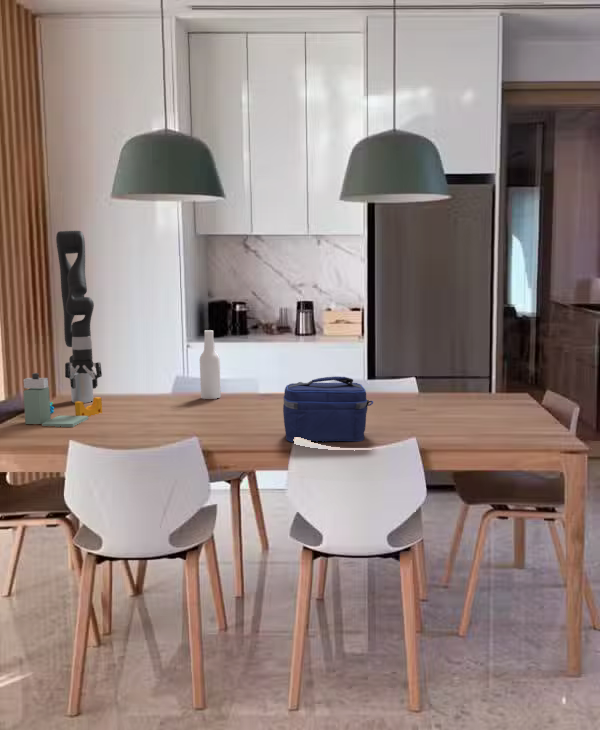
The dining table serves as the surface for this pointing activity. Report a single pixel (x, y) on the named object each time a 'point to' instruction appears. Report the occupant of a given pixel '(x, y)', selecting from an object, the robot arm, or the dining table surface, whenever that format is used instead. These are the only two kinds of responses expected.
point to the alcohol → (210, 369)
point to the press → (45, 410)
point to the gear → (51, 408)
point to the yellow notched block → (89, 408)
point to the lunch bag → (325, 410)
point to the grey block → (35, 382)
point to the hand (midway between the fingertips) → (84, 388)
